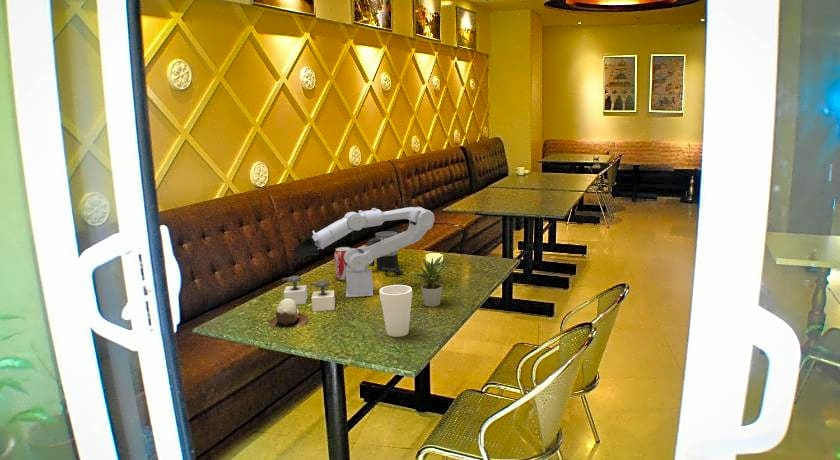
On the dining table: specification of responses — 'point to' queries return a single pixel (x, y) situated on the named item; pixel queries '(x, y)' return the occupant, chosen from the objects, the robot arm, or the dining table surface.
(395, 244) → the robot arm
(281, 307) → the skull
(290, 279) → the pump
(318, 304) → the off-white square plinth
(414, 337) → the dining table surface
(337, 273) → the soda can
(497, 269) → the dining table surface
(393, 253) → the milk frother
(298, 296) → the square base with knob
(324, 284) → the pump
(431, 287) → the house plant
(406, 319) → the foam cup
